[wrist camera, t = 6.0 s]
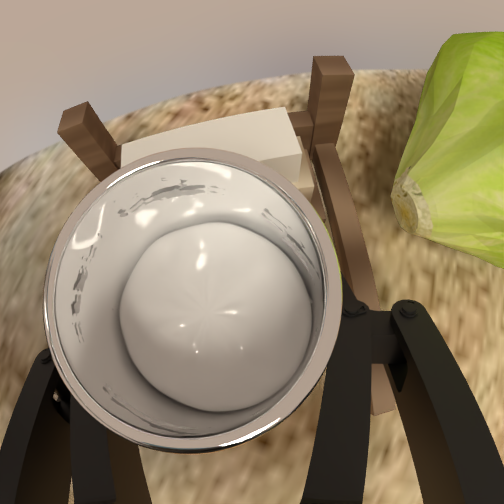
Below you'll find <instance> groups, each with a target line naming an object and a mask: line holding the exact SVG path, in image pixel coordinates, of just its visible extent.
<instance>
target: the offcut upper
mask: <svg viewBox="0 0 504 504" xmlns="http://www.w3.org/2000/svg"><path fill="white" fill-rule="evenodd" d="M180 148H212V149H220V150H225V151H230V152H234V153H237V154H241V155H244V156H247V157H249V158H252V159H254V160H256V161H259V162H261V163H263V164H265V165H266V166H268V167H270V168H272V169H273V170H275V171H276V172H278V173H279V174H281V175H282V176H284V177H285V178H286V179H287V180H289V181H290V182H291V183H294V182H298V180H299V173H300V166H301V159H302V151H301V148H300V146H299V143H298V140H297V137H296V135H295V132H294V129H293V127H292V124H291V121H290V119H289V116H288V114H287V111H286V109H285V107H280V108H273V109H267V110H261V111H255V112H249V113H244V114H238V115H233V116H228V117H223V118H219V119H214V120H210V121H205V122H201V123H197V124H192V125H188V126H184V127H180V128H177V129H173V130H169V131H165V132H162V133H158V134H155V135H151V136H148V137H144V138H141V139H138V140H135V141H131V142H128V143H125V144H122V150H121V168H122V167H124V166H126V165H128V164H130V163H132V162H134V161H136V160H138V159H141V158H143V157H146V156H149V155H152V154H155V153H159V152H163V151H167V150H173V149H180Z"/></svg>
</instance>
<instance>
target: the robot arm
mask: <svg viewBox="0 0 504 504" xmlns="http://www.w3.org/2000/svg"><path fill="white" fill-rule="evenodd" d="M340 272H341V271H340ZM341 279H342V315H341V322H340V328H339V333H338V337H337V340H336V344H335V347H334V350H333V353H332V355H331V358H330V360H329V363H328V365H327V370H326V377H325V384H324V390H323V397H322V403H321V409H320V415H319V420H318V426H317V431H316V437H315V442H314V447H313V452H312V457H311V461H310V466H309V471H308V475H307V479H306V484H305V488H304V492H303V496H302V499H301V502H300V504H362V501H363V493H364V485H365V477H366V467H367V457H368V446H369V432H370V414H371V378H372V364H383V365H384V368H385V371H386V374H387V377H388V380H389V383H390V385H391V388H392V391H393V394H394V398H395V401H396V404H397V407H398V410H399V413H400V416H401V420H402V423H403V426H404V430H405V433H406V436H407V440H408V443H409V447H410V451H411V454H412V458H413V462H414V466H415V469H416V473H417V477H418V481H419V486H420V490H421V494H422V498H423V503H424V504H504V466H503V463H502V460H501V458H500V455H499V453H498V450H497V447H496V445H495V442H494V440H493V438H492V435H491V433H490V430H489V428H488V426H487V423H486V421H485V419H484V417H483V415H482V412H481V410H480V408H479V406H478V404H477V402H476V400H475V397H474V395H473V393H472V391H471V389H470V387H469V385H468V383H467V381H466V379H465V377H464V375H463V374H462V372H461V370H460V368H459V366H458V364H457V362H456V360H455V359H454V357H453V355H452V353H451V351H450V350H449V348H448V346H447V344H446V342H445V341H444V339H443V337H442V336H441V334H440V332H439V330H438V329H437V327H436V325H435V324H434V322H433V320H432V319H431V317H430V315H429V314H428V312H427V311H426V309H425V307H424V306H423V305H422V304H420V303H418V302H417V301H413V300H401V301H398V302H396V303H395V304H394V305H393V306H392V309H391V311H374V310H370V309H369V306H368V305H366V304H365V303H364V302H362V301H359V300H357V298H356V296H355V295H354V293H353V291H352V289H351V288H350V286H349V284H348V283H347V281H346V279H345V278H344V276H343V274H342V272H341ZM310 300H311V299H310ZM311 303H312V302H311ZM54 392H55V393H56V394H57V395H58V399H57V401H56V400H55V399H54V398H53V395H54ZM71 477H72V483H73V493H74V504H152V501H151V498H150V494H149V490H148V487H147V483H146V479H145V475H144V471H143V467H142V462H141V458H140V453H139V448H138V445H137V444H134V443H132V442H130V441H128V440H126V439H124V438H122V437H120V436H118V435H116V434H115V433H113V432H111V431H110V430H108V429H107V428H106V427H104V426H103V425H101V424H100V423H99V422H98V421H96V420H95V419H94V418H93V417H92V416H91V415H90V414H89V413H88V412H87V411H86V410H85V409H84V408H83V407H82V406H81V405H80V404H79V403H78V402H77V400H76V399H75V398H74V397H73V395H72V394H71V392H70V391H69V389H68V388H67V386H66V385H65V383H64V382H63V380H62V378H61V376H60V374H59V372H58V370H57V368H56V366H55V364H54V361H53V359H52V356H51V353H50V350H49V348H47V349H45V350H43V351H41V353H39V354H38V356H37V357H36V359H35V361H34V363H33V365H32V368H31V370H30V372H29V374H28V377H27V379H26V381H25V384H24V386H23V388H22V391H21V393H20V396H19V398H18V401H17V403H16V406H15V408H14V411H13V414H12V417H11V419H10V422H9V425H8V428H7V431H6V434H5V437H4V440H3V443H2V446H1V449H0V504H68V499H69V491H70V484H71Z"/></svg>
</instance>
